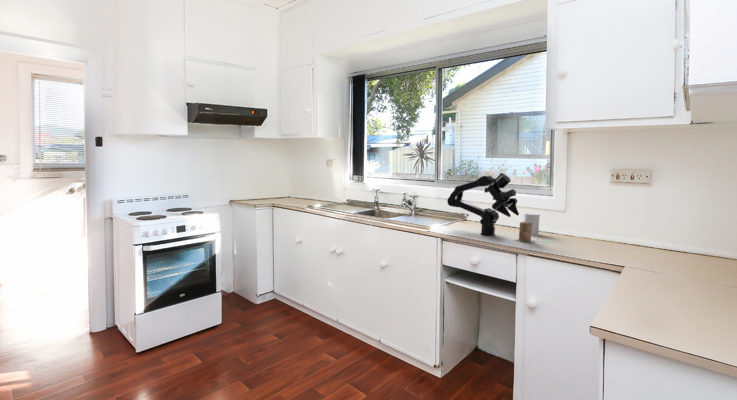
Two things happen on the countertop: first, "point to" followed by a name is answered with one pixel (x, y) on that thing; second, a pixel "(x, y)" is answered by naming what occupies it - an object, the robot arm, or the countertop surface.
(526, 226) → the walnut block
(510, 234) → the countertop surface
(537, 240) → the ceramic tile
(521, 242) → the silicone mat
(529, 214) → the cup
